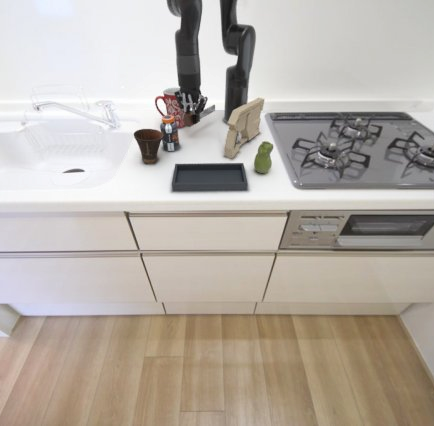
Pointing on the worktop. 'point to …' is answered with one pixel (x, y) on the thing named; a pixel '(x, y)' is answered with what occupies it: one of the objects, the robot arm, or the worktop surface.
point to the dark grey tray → (209, 177)
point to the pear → (263, 157)
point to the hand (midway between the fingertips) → (192, 122)
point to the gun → (243, 125)
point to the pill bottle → (169, 133)
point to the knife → (189, 117)
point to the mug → (172, 106)
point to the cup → (148, 144)
